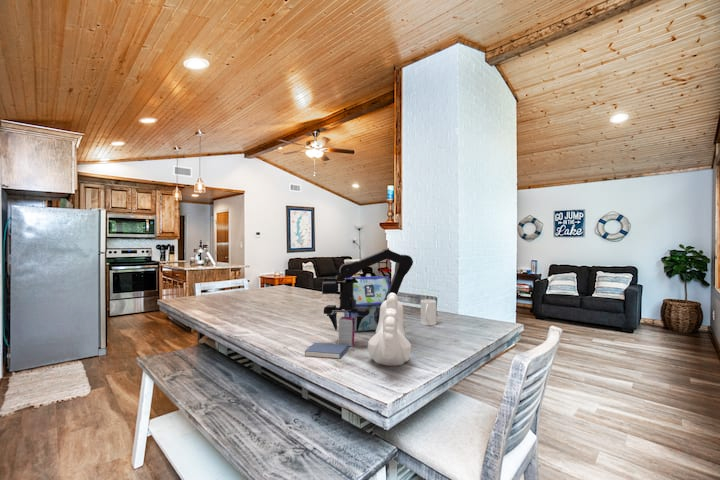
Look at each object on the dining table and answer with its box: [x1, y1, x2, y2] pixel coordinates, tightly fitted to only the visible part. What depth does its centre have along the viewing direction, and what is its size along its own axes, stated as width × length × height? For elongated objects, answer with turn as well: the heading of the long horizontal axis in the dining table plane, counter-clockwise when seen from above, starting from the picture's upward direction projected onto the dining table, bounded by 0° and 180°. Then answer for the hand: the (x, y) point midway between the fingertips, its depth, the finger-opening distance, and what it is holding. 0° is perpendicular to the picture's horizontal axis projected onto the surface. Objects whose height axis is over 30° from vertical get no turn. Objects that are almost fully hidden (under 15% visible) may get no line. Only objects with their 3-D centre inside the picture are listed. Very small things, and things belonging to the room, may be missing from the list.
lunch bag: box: [343, 276, 390, 333], centre depth 173 cm, size 22×17×26 cm
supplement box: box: [337, 316, 355, 349], centre depth 145 cm, size 6×6×12 cm
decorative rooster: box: [367, 293, 412, 367], centre depth 122 cm, size 25×16×25 cm, turn 161°
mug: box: [419, 299, 437, 326], centre depth 182 cm, size 12×8×12 cm
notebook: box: [304, 342, 349, 360], centre depth 136 cm, size 14×11×2 cm
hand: (346, 330), depth 145 cm, fingers open, 9 cm apart
